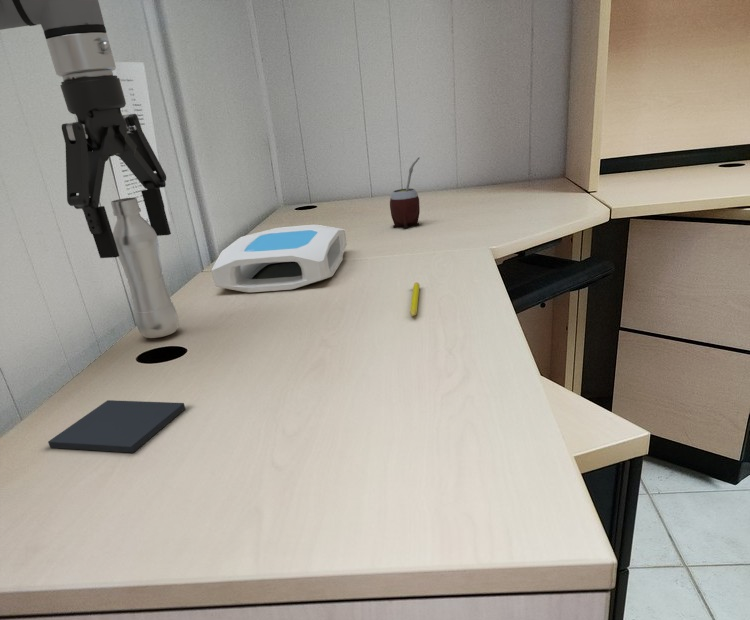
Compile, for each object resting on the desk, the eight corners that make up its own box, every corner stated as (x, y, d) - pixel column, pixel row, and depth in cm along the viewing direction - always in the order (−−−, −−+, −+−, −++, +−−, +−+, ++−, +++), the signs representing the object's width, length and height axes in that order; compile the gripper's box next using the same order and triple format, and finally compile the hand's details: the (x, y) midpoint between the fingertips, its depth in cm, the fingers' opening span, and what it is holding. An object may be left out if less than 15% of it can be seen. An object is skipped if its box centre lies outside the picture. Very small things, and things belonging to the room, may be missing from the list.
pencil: (413, 288, 113) (413, 282, 112) (419, 288, 113) (419, 282, 112) (409, 319, 99) (409, 312, 98) (416, 318, 99) (416, 312, 98)
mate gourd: (393, 224, 164) (387, 157, 155) (424, 221, 162) (420, 153, 154) (390, 230, 157) (384, 160, 149) (423, 227, 156) (419, 157, 148)
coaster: (50, 447, 74) (47, 441, 73) (109, 405, 83) (107, 399, 82) (133, 453, 71) (130, 446, 70) (185, 408, 79) (184, 402, 79)
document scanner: (348, 251, 143) (344, 221, 139) (326, 287, 119) (321, 251, 116) (254, 259, 146) (249, 229, 142) (215, 295, 123) (207, 261, 119)
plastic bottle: (131, 342, 104) (89, 205, 93) (158, 327, 109) (121, 196, 98) (164, 343, 101) (125, 203, 91) (190, 329, 107) (156, 194, 96)
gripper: (46, 76, 75) (107, 266, 87) (164, 69, 95) (201, 225, 107) (-5, 84, 78) (61, 268, 89) (120, 76, 97) (161, 228, 109)
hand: (137, 245), depth 98 cm, fingers open, 13 cm apart
